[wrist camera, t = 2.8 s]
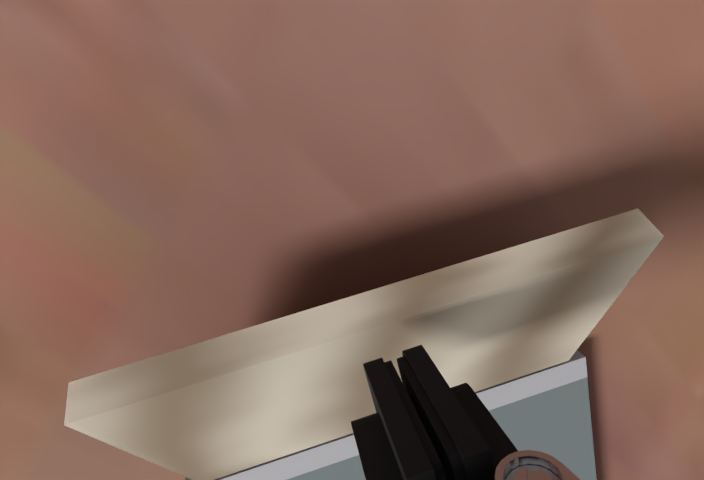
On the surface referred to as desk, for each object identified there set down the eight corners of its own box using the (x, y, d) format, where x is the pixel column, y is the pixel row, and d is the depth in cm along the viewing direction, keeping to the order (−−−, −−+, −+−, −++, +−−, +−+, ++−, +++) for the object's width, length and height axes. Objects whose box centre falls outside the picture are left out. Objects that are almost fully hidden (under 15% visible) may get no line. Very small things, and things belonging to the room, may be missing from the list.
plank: (638, 208, 14) (664, 236, 14) (554, 338, 22) (568, 360, 22) (68, 382, 13) (63, 425, 12) (200, 455, 21) (201, 483, 20)
